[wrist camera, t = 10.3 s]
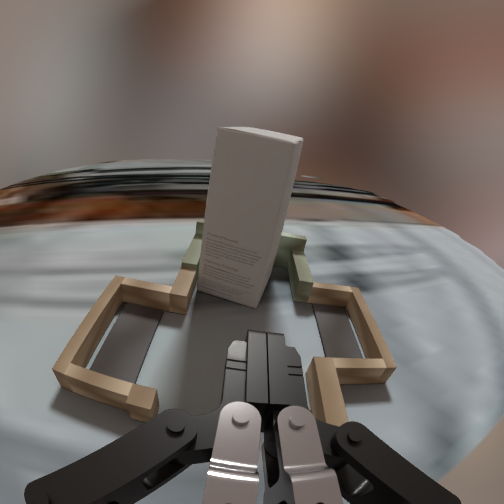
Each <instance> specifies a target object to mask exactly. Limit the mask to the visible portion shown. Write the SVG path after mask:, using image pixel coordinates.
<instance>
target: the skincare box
mask: <svg viewBox="0 0 504 504" xmlns="http://www.w3.org/2000/svg"><path fill="white" fill-rule="evenodd" d="M302 144H303V138H301V137H296V136H292V135H287V134H283V133H277V132H273V131H268V130H262V129H257V128H251V127H218V131H217V137H216V143H215V149H214V155H213V162H212V168H211V175H210V181H209V189H208V196H207V203H206V211H205V218H204V227H203V235H202V244H201V253H200V263H199V272H198V282H197V290H198V291H201V292H205V293H208V294H211V295H214V296H217V297H220V298H223V299H226V300H230V301H233V302H236V303H239V304H242V305H246V306H249V307H252V308H257V306H258V304H259V301H260V299H261V297H262V295H263V292H264V290H265V287H266V285H267V282H268V280H269V277H270V275H271V272H272V269H273V264H274V260H275V257H276V253H277V249H278V245H279V241H280V237H281V234H282V230H283V225H284V221H285V217H286V213H287V209H288V205H289V201H290V197H291V192H292V188H293V184H294V180H295V175H296V171H297V167H298V162H299V158H300V153H301V149H302Z"/></svg>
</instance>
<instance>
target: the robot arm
mask: <svg viewBox="0 0 504 504" xmlns="http://www.w3.org/2000/svg"><path fill="white" fill-rule="evenodd" d="M260 432H264V442H263V444H262V447H261V451H262V461H263V472H264V482H265V492H264V497H263V504H343V501H342V497H343V498H344V499H346V500H347V501H348V502H349V503H350V504H461V501H460V500H459V498H458V497H457V496H455V495H454V494H452V493H451V492H449V491H448V490H447V489H445V488H444V487H442V486H441V485H439V484H438V483H437V482H435V481H434V480H433V479H431V478H430V477H428V476H427V475H426V474H424V473H423V472H422V471H420V470H419V469H418V468H416V467H415V466H414V465H412V464H411V463H410V462H409V461H407V460H406V459H405V458H403V457H402V456H401V455H400V454H398V453H397V452H396V451H394V450H393V449H392V448H391V447H389V446H388V445H387V444H386V443H384V442H383V441H382V440H381V439H380V438H378V437H377V436H376V435H375V434H373V433H372V432H371V431H370V430H369V429H367V428H366V427H365V426H364V425H362V424H360V423H358V422H346V423H344V424H342V425H341V426H336V425H332V424H328V423H325V422H322V421H320V420H318V419H316V418H315V417H314V415H313V414H312V413H311V412H310V411H309V409H308V405H307V399H306V391H305V384H304V378H303V371H302V364H301V357H300V355H299V354H298V352H297V351H296V349H295V348H294V347H287V346H285V337H284V334H279V333H270V332H262V331H254V330H248V332H247V336H246V340H245V342H244V341H236V340H234V341H233V343H232V344H231V345H230V347H229V348H228V353H227V359H226V365H225V370H224V379H223V389H222V397H221V405H220V406H219V408H218V409H216V410H215V411H213V412H211V413H209V414H204V415H196V416H192V415H190V414H189V413H187V412H186V411H183V410H180V409H169V410H165V411H163V412H161V413H160V414H158V415H157V416H155V417H154V418H152V419H150V420H149V421H147V422H146V423H144V424H142V425H141V426H139V427H137V428H136V429H134V430H132V431H131V432H129V433H127V434H125V435H124V436H122V437H120V438H119V439H117V440H115V441H113V442H112V443H110V444H108V445H106V446H104V447H102V448H101V449H99V450H97V451H95V452H93V453H91V454H89V455H87V456H86V457H84V458H82V459H80V460H78V461H76V462H74V463H72V464H70V465H68V466H66V467H63V468H61V469H59V470H57V471H55V472H53V473H51V474H48V475H46V476H44V477H42V478H39V479H37V480H35V481H32V482H30V483H29V484H28V485H27V486H26V488H25V492H24V497H25V501H26V504H134V503H136V502H137V501H139V500H141V499H142V498H144V497H146V496H147V495H149V494H150V493H152V492H153V491H155V490H156V489H158V488H159V487H161V486H162V485H164V484H165V483H167V482H168V481H170V480H171V479H173V478H174V477H175V476H177V475H178V474H180V473H181V472H182V471H184V470H185V469H186V468H188V467H189V466H190V465H192V464H197V463H204V462H210V466H209V471H208V476H207V481H206V486H205V491H204V496H203V501H202V504H257V495H258V485H259V474H258V472H257V461H258V451H259V440H260Z"/></svg>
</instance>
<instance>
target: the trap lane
mask: <svg viewBox="0 0 504 504" xmlns="http://www.w3.org/2000/svg"><path fill="white" fill-rule="evenodd" d="M203 227H204V220H202V219H198V221H197V225H196V234H195V236H194V238H193V240H192V242H191V244H190V246H189V248H188V250H187V252H186V254H185V256H184V259H183V261H182V267H181V269H180V271H179V273H178V275H177V278H176V280H175V282H174V284H173V287H172V286H166V285H161V284H156V283H150V282H145V281H140V280H135V279H130V278H125V277H121V276H115V277H114V278H113V280H112V281H111V282H110V284H109V285H108V286H107V288H106V289H105V290H104V292H103V293H102V295H101V296H100V297H99V299H98V300H97V301H96V303H95V304H94V306H93V307H92V308H91V310H90V311H89V313H88V314H87V316H86V317H85V318H84V320H83V321H82V323H81V324H80V326H79V327H78V329H77V330H76V332H75V333H74V335H73V336H72V338H71V339H70V341H69V342H68V344H67V346H66V347H65V349H64V350H63V352H62V354H61V355H60V357H59V358H58V360H57V362H56V363H55V365H54V367H53V368H52V370H53V372H54V374H55V376H56V378H57V380H58V381H59V383H60V385H61V387H63V388H65V389H68V390H70V391H73V392H75V393H78V394H80V395H83V396H85V397H88V398H91V399H93V400H96V401H99V402H102V403H105V404H108V405H111V406H114V407H117V408H121V409H124V410H127V411H129V414H130V416H131V419H135V420H139V421H142V422H147V421H149V420H150V419H152V418H154V417H155V416H157V413H158V409H159V401H158V394H157V389H154V388H150V387H145V386H142V385H138V384H135V383H136V380H137V378H138V375H139V372H140V370H141V367H142V364H143V362H144V359H145V357H146V354H147V351H148V349H149V346H150V344H151V341H152V339H153V336H154V334H155V331H156V329H157V326H158V324H159V321H160V319H161V317H162V314H163V310H164V311H170V312H175V313H180V314H185V315H186V313H187V310H188V307H189V304H190V301H191V298H192V295H193V292H194V288H195V285H196V282H197V279H198V272H199V263H200V253H201V244H202V235H203ZM306 240H307V239H306V237H305V236H300V235H294V234H288V233H283V232H282V234H281V237H280V241H279V245H278V249H277V253H276V257H275V260H274V264H273V265H277V266H283V267H287V270H288V276H289V281H290V286H291V291H292V297H293V301H298V302H305V303H313V304H312V306H313V310H314V314H315V318H316V321H317V325H318V329H319V333H320V337H321V341H322V345H323V349H324V353H325V357H313V359H312V361H311V363H310V366H309V368H308V370H307V372H306V379H307V385H308V392H309V399H310V405H311V412H312V414H313V415H314V417H315V418H316V419H318V420H320V421H322V422H325V423H328V424H332V425H336V426H341V425H342V424H344V423H346V422H349V421H348V417H347V413H346V408H345V404H344V400H343V396H342V392H341V388H340V384H374V383H386V381H387V380H388V379H389V377H390V376H391V374H392V373H393V372H394V370H395V369H396V368H397V367H396V365H395V363H394V360H393V358H392V356H391V354H390V352H389V349H388V347H387V345H386V343H385V341H384V339H383V337H382V335H381V332H380V330H379V328H378V326H377V324H376V322H375V320H374V318H373V316H372V314H371V312H370V310H369V308H368V306H367V304H366V302H365V300H364V298H363V297H362V295H361V293H360V291H359V289H358V288H355V287H348V286H340V285H333V284H326V283H318V282H314V281H313V278H312V275H311V272H310V269H309V266H308V263H307V260H306V257H305V254H304V248H305V244H306ZM123 302H127V303H126V305H125V307H124V308H123V310H122V312H121V313H120V315H119V317H118V318H117V320H116V322H115V324H114V325H113V327H112V329H111V331H110V332H109V334H108V336H107V338H106V340H105V341H104V343H103V345H102V347H101V349H100V351H99V353H98V354H97V356H96V358H95V360H94V362H93V364H92V366H91V368H90V370H88V369H85V367H86V365H87V363H88V362H89V360H90V358H91V356H92V354H93V352H94V351H95V349H96V347H97V345H98V343H99V342H100V340H101V338H102V336H103V335H104V333H105V331H106V329H107V328H108V326H109V324H110V323H111V321H112V319H113V317H114V316H115V314H116V312H117V311H118V309H119V308H120V306H121V304H122V303H123ZM135 304H136V305H135ZM144 306H145V307H144ZM149 307H150V308H149ZM344 307H346V308H347V310H348V313H349V315H350V318H351V320H352V323H353V325H354V328H355V330H356V333H357V335H358V338H359V340H360V343H361V346H362V348H363V351H364V353H365V356H366V359H363V357H362V354H361V351H360V349H359V346H358V343H357V341H356V338H355V335H354V333H353V330H352V328H351V325H350V322H349V320H348V317H347V315H346V312H345V310H344ZM154 308H155V309H154Z"/></svg>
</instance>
